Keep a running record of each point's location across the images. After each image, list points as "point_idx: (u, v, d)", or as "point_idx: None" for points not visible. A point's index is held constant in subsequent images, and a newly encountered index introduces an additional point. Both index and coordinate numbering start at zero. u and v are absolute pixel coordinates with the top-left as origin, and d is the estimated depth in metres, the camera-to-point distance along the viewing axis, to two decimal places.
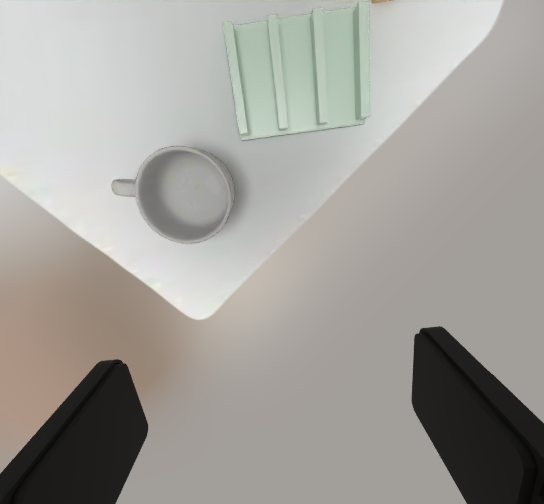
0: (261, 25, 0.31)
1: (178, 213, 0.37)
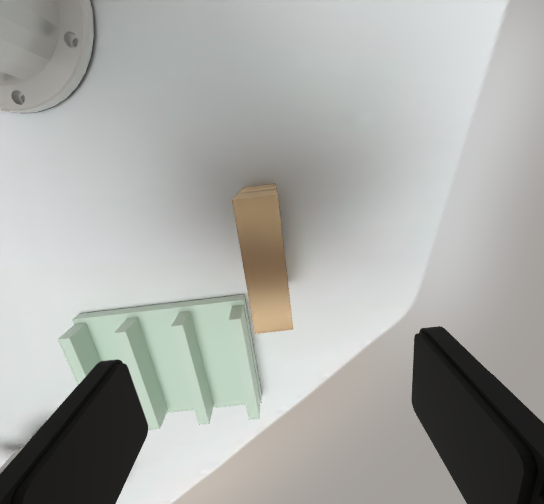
0: (118, 318, 0.24)
1: None
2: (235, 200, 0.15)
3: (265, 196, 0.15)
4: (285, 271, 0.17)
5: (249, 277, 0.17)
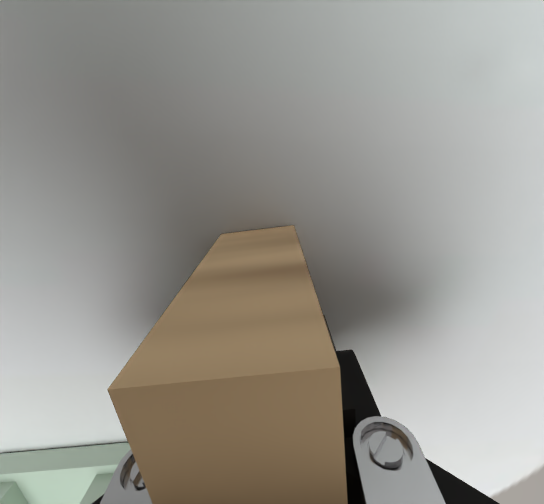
0: None
1: None
2: (125, 391, 0.03)
3: (276, 377, 0.03)
4: None
5: None
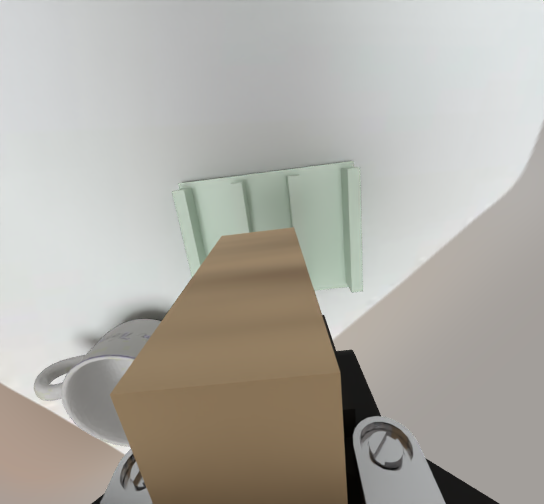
0: (225, 182, 0.24)
1: None
2: (127, 396, 0.03)
3: (277, 382, 0.03)
4: None
5: None
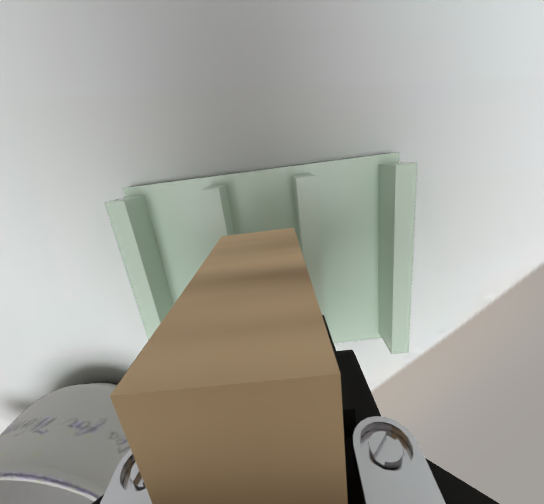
0: (195, 186, 0.15)
1: None
2: (127, 397, 0.03)
3: (277, 383, 0.03)
4: None
5: None
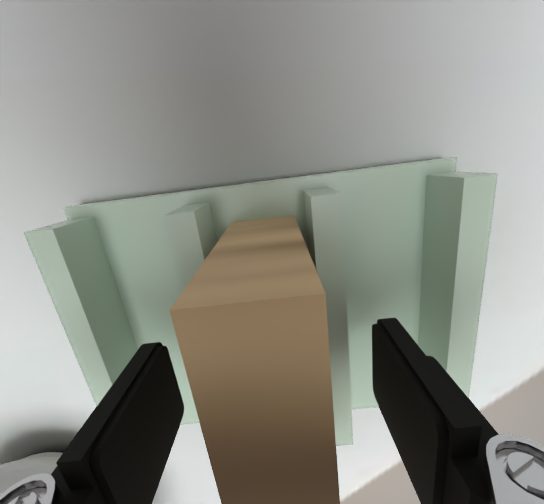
0: (166, 205, 0.11)
1: None
2: (181, 311, 0.05)
3: (283, 300, 0.04)
4: (335, 491, 0.06)
5: (233, 501, 0.06)
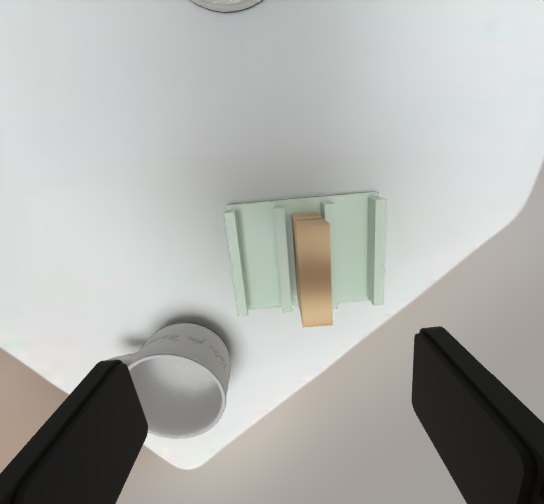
0: (266, 206, 0.28)
1: (167, 377, 0.33)
2: (299, 227, 0.21)
3: (320, 225, 0.21)
4: (330, 280, 0.23)
5: (303, 283, 0.23)
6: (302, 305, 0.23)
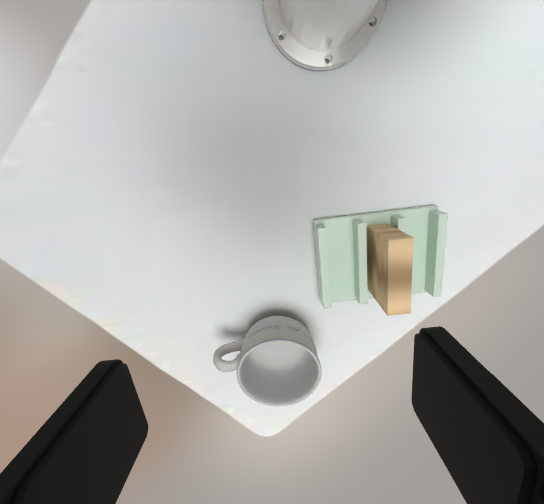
0: (347, 220, 0.35)
1: (259, 359, 0.41)
2: (390, 240, 0.28)
3: (406, 238, 0.28)
4: (411, 279, 0.30)
5: (390, 282, 0.30)
6: (388, 299, 0.31)
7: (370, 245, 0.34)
